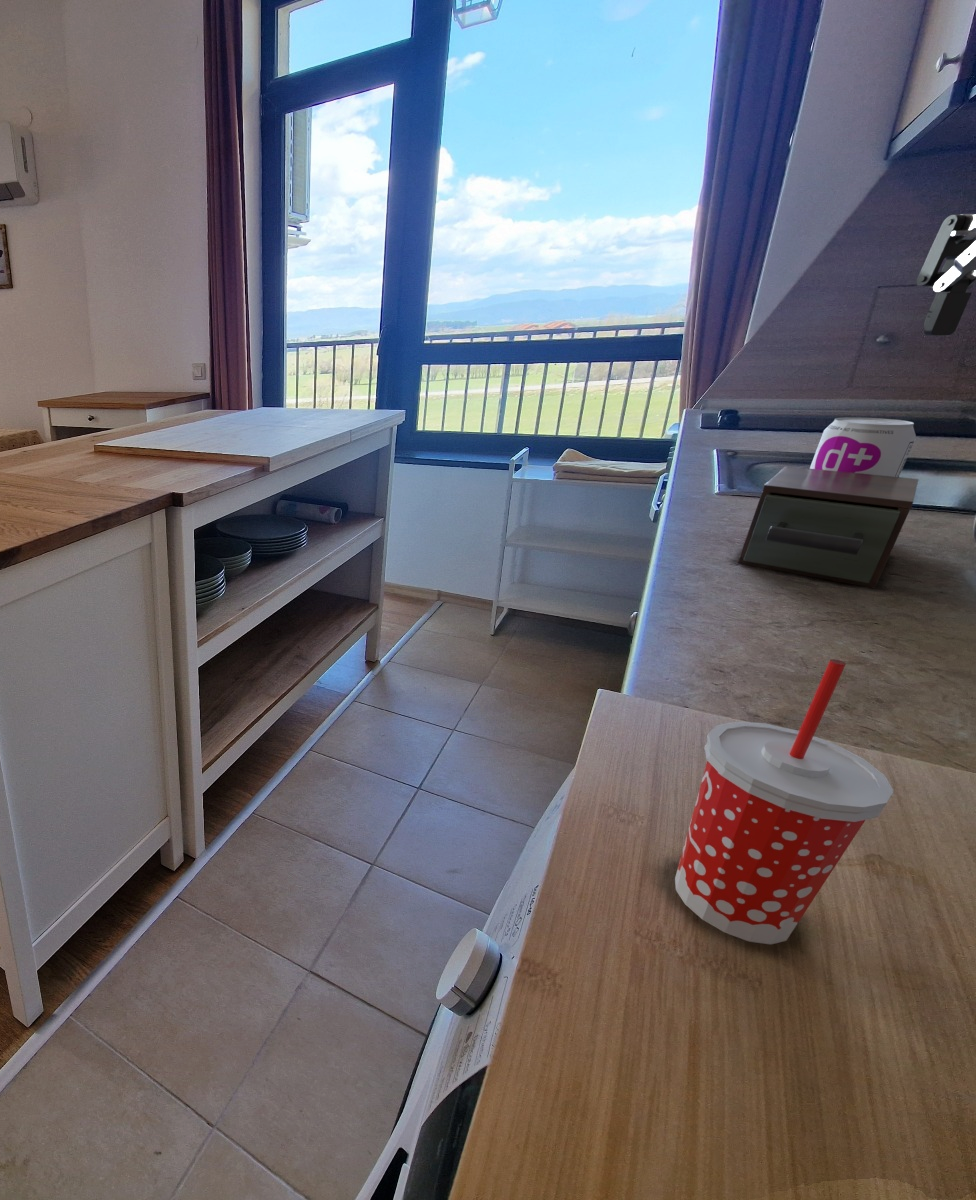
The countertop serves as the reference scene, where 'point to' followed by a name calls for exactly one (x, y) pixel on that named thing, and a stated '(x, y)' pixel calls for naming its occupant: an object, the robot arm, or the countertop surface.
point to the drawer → (821, 536)
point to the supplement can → (865, 446)
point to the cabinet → (840, 488)
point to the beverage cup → (773, 821)
